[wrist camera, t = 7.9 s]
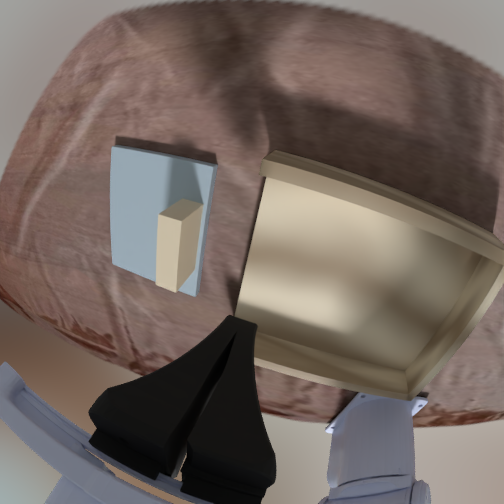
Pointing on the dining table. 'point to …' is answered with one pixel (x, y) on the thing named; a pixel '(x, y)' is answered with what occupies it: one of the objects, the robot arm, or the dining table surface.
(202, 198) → the cover plate
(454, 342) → the birch box
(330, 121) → the dining table surface
